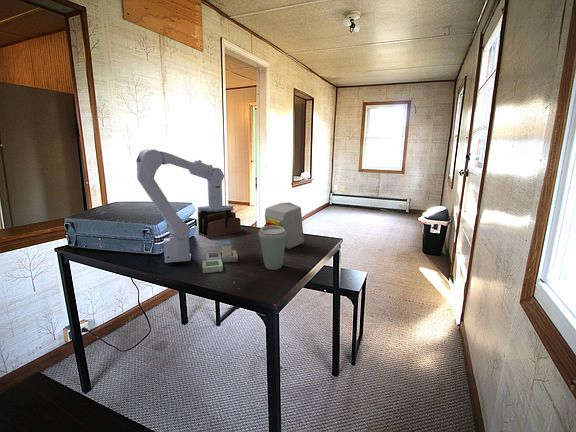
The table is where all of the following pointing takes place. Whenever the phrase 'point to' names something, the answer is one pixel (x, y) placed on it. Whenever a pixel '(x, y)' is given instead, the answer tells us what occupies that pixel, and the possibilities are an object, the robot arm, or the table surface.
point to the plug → (226, 248)
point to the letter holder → (218, 224)
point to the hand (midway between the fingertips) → (216, 227)
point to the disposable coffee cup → (272, 245)
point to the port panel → (224, 258)
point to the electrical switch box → (286, 222)
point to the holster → (212, 266)
